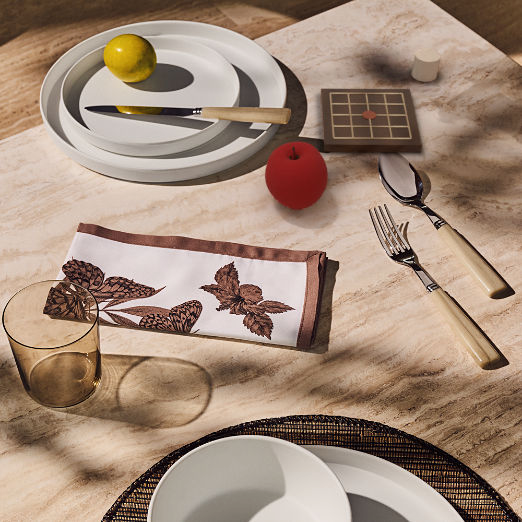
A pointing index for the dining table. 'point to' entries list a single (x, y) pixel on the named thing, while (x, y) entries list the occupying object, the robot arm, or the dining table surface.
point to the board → (369, 121)
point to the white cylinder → (426, 64)
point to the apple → (296, 175)
